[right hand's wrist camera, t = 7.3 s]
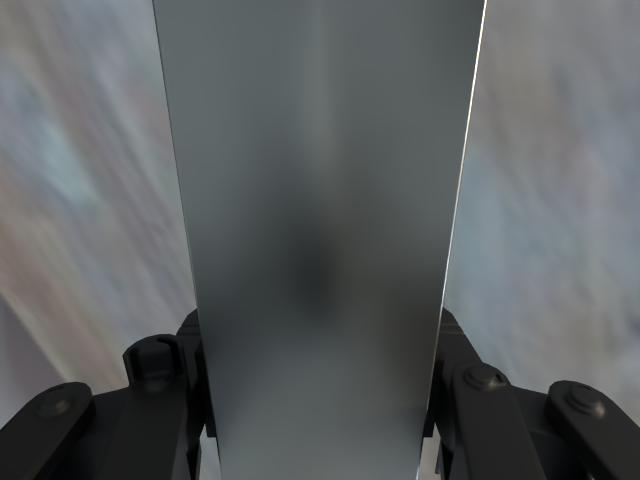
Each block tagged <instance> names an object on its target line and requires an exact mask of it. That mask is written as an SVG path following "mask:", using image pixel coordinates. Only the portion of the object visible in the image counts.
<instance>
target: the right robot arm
mask: <svg viewBox="0 0 640 480" xmlns="http://www.w3.org/2000/svg"><path fill="white" fill-rule="evenodd" d="M122 356H123V360H124V364H125V368H126V372H127V376H128V380H129V387H126V388H123V389H119V390H115V391H111V392H107V393H102V394H98V395H94V396H93V395H92V392H91V389H90V387H89V386H87V385H86V384H85V383H80V382H70V383H63V384H60V385H57V386H54V387H51V388H49V389H47V390H45V391H44V392H42V393H40V394H38V395H37V396H35V397H34V398H33V399H32V400H30V401H29V402H28V403H27V404H26V405H25V406H24V407H23V408H22V409H21V410H20V411H19V412H18V413H17V414H16V415H15V416H14V417H13V418H12V419H11V420H10V421H9V422H8V423H7V424H6V425H5V426H4V427H3V428H2V429H1V430H0V480H199V474H200V464H201V453H202V452H201V445H200V439H199V438H200V435H201V433H202V430H203V427H204V424H205V425H206V432H207V437H216V434H215V427H214V420H213V414H212V407H211V400H210V393H209V386H208V379H207V372H206V366H205V359H204V352H203V345H202V338H201V331H200V324H199V318H198V311H197V309H195V310H194V311H193V312H191V313H190V314H189V315H188V316H187V317H186V319H185V320H184V322H183V324H182V327H180V328H179V330H178V332H177V333H176V335H171V334H158V335H154V336H149V337H146V338H144V339H142V340H139V341H137V342H136V343H134V344H133V345H131V346H130V347H129V348H128V349H127V350H126V351H125V353H124V354H123V355H122ZM435 423H436V426H437V429H438V431H439V434H440V437H441V439H440V445H439V451H438V457H437V463H436V469H435V473H436V474H441V480H640V428H639V427H638V426H637V425H636V424H635V423H634V422H633V421H632V420H631V419H630V418H629V417H628V416H627V415H626V414H625V413H624V412H623V411H622V410H621V409H620V408H619V407H618V406H617V405H616V404H615V403H614V402H613V401H612V400H611V399H609V398H608V397H607V396H606V395H604V394H603V393H601V392H600V391H598V390H596V389H594V388H592V387H590V386H588V385H585V384H582V383H579V382H574V381H566V380H563V381H557V382H554V383H553V384H552V385H551V386H550V388H549V391H548V394H544V393H539V392H535V391H531V390H526V389H522V388H519V387H515V386H512V385H511V383H510V382H509V380H508V379H507V377H506V376H505V375H504V374H503V373H502V372H500V371H499V370H498V369H497V368H495V367H492V366H490V365H488V364H486V363H483V362H482V361H481V359H480V357H479V356H478V354H477V353H476V351H475V349H474V348H473V346H472V345H471V343H470V342H469V340H468V338H467V337H466V335H465V334H464V332H463V330H462V329H461V327H460V326H458V323H457V321H456V319H455V318H454V316H453V315H452V313H450V312H449V311H447V310H446V309H445V308H442V315H441V322H440V328H439V335H438V342H437V349H436V356H435V363H434V370H433V377H432V383H431V390H430V397H429V404H428V411H427V418H426V425H425V432H424V437H432V436H433V430H434V424H435Z"/></svg>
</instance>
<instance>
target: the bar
mask: <svg viewBox="0 0 640 480" xmlns="http://www.w3.org/2000/svg"><path fill="white" fill-rule="evenodd" d="M152 2H153V9H154V16H155V23H156V30H157V37H158V43H159V50H160V57H161V64H162V71H163V78H164V85H165V91H166V98H167V105H168V112H169V119H170V126H171V133H172V139H173V146H174V153H175V160H176V167H177V174H178V181H179V187H180V194H181V201H182V208H183V215H184V222H185V228H186V235H187V242H188V249H189V256H190V263H191V270H192V276H193V283H194V290H195V297H196V304H197V311H198V318H199V324H200V331H201V338H202V345H203V352H204V359H205V366H206V372H207V379H208V386H209V393H210V400H211V407H212V414H213V420H214V427H215V434H216V441H217V448H218V455H219V462H220V468H221V475H222V480H418V473H419V466H420V459H421V452H422V445H423V438H424V432H425V425H426V418H427V411H428V404H429V397H430V390H431V383H432V377H433V370H434V363H435V356H436V349H437V342H438V335H439V328H440V322H441V315H442V308H443V301H444V294H445V287H446V280H447V273H448V267H449V260H450V253H451V246H452V239H453V232H454V225H455V218H456V212H457V205H458V198H459V191H460V184H461V177H462V170H463V163H464V157H465V150H466V143H467V136H468V129H469V122H470V115H471V108H472V102H473V95H474V88H475V81H476V74H477V67H478V60H479V53H480V47H481V40H482V33H483V26H484V19H485V12H486V5H487V0H152Z"/></svg>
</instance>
